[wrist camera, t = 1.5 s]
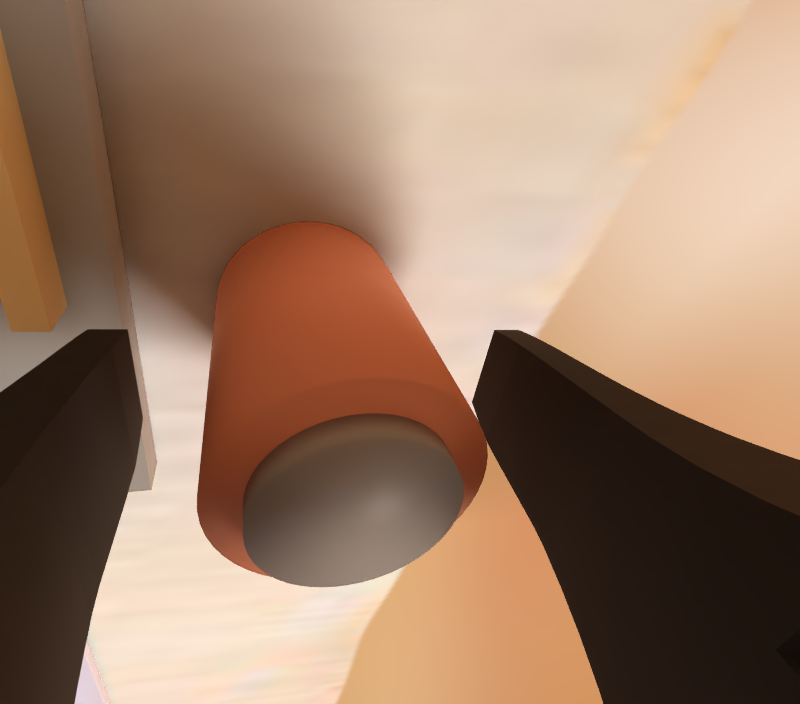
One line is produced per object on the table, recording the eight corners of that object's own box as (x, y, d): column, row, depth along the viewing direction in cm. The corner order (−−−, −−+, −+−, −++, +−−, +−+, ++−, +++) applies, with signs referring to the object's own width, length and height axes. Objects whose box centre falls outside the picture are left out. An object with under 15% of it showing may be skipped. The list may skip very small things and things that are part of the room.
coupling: (381, 374, 14) (463, 583, 9) (220, 379, 12) (204, 630, 7) (406, 228, 11) (539, 394, 6) (211, 215, 10) (179, 412, 5)
